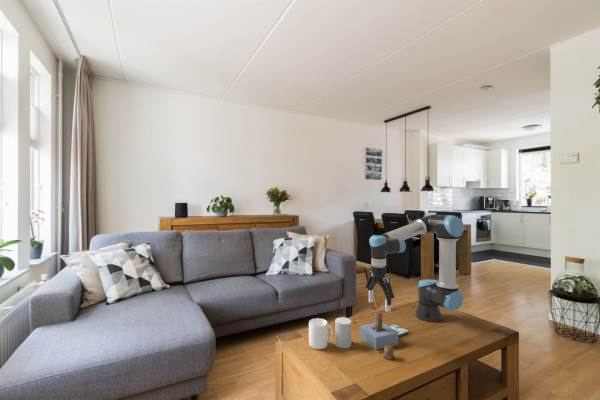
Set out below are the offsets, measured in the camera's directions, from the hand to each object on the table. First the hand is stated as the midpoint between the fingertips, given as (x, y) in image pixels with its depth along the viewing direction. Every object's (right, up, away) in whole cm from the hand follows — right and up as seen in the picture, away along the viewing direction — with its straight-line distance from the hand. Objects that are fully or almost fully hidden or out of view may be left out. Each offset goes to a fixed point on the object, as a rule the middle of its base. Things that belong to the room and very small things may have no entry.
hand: (379, 306), depth 150 cm
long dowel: (0, -18, 0) cm, 18 cm away
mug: (-31, -18, -4) cm, 36 cm away
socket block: (0, -18, 0) cm, 18 cm away
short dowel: (0, -18, -16) cm, 24 cm away
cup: (-19, -18, -4) cm, 27 cm away
